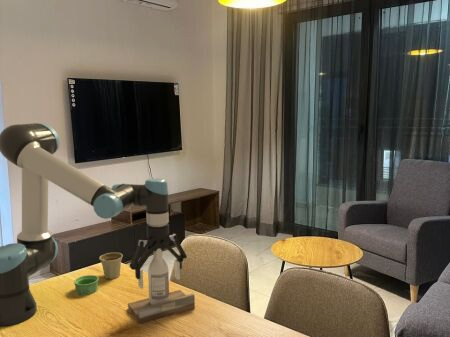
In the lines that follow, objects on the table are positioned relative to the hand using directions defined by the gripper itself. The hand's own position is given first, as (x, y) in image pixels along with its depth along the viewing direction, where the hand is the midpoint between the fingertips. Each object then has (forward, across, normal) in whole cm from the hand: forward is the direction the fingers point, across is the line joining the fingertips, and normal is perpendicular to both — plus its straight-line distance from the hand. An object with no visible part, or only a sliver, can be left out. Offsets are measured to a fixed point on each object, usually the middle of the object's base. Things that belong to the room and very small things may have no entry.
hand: (159, 282), depth 138 cm
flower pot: (+9, +7, -36) cm, 38 cm away
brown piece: (+9, 0, +1) cm, 9 cm away
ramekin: (+10, +19, -28) cm, 35 cm away
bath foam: (+7, 0, 0) cm, 7 cm away
